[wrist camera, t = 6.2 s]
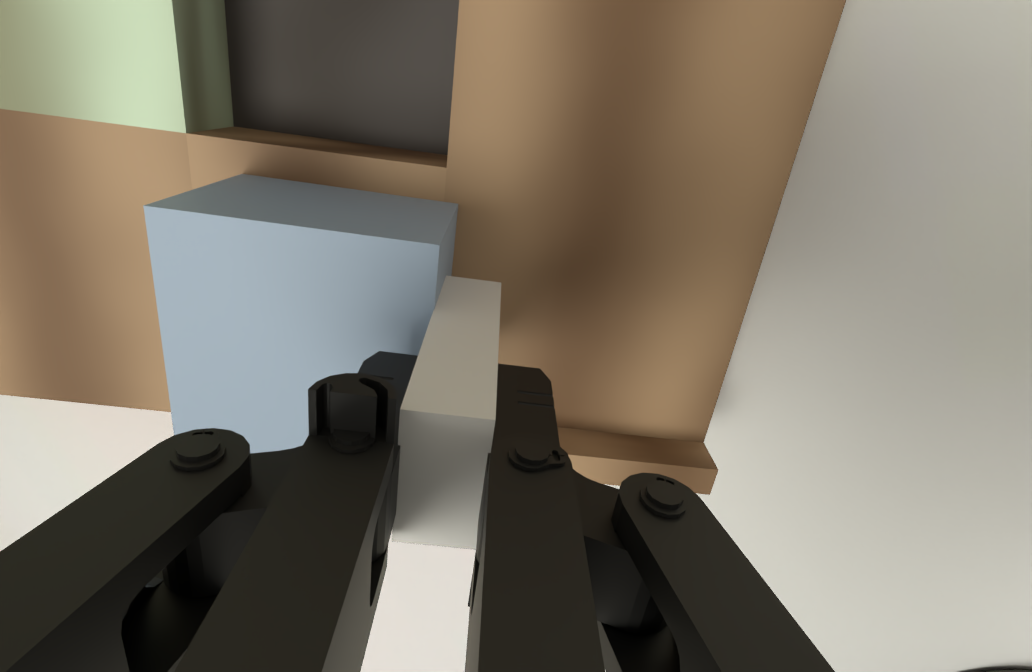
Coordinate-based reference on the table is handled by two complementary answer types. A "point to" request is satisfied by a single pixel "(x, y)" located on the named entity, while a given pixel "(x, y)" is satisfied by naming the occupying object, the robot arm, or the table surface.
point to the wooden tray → (421, 177)
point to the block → (286, 295)
